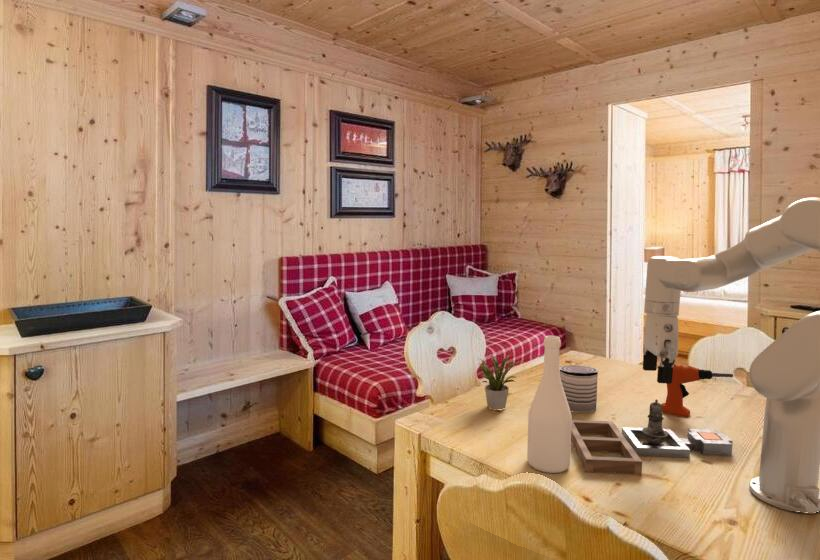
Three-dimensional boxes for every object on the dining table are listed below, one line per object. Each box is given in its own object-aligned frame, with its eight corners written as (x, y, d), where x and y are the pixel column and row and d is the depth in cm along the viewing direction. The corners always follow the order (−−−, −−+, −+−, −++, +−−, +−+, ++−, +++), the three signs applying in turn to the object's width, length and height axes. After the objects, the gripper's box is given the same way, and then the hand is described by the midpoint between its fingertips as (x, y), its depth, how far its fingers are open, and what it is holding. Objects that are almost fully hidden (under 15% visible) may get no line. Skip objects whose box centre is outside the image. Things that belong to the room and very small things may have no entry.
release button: (721, 450, 125) (721, 439, 125) (704, 449, 125) (705, 439, 125) (713, 443, 129) (714, 433, 128) (697, 442, 129) (698, 432, 129)
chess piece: (644, 438, 132) (647, 393, 131) (669, 444, 129) (672, 398, 127) (638, 446, 128) (640, 399, 126) (663, 453, 124) (666, 405, 123)
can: (556, 410, 152) (557, 371, 150) (558, 397, 162) (559, 360, 161) (597, 415, 148) (599, 374, 147) (596, 401, 159) (598, 363, 157)
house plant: (522, 399, 161) (523, 348, 159) (527, 416, 147) (529, 360, 145) (475, 398, 162) (476, 347, 160) (477, 414, 148) (478, 359, 146)
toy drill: (736, 421, 139) (731, 367, 138) (659, 415, 150) (655, 365, 149) (736, 416, 143) (732, 362, 142) (662, 410, 154) (657, 361, 153)
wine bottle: (562, 454, 124) (566, 332, 120) (576, 474, 114) (581, 341, 110) (522, 455, 123) (525, 332, 120) (533, 475, 114) (537, 342, 110)
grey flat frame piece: (739, 459, 121) (740, 447, 120) (637, 455, 123) (637, 443, 123) (715, 438, 132) (715, 426, 132) (621, 434, 135) (622, 423, 134)
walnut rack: (641, 474, 114) (642, 461, 114) (585, 471, 115) (586, 459, 115) (612, 432, 136) (612, 421, 136) (565, 430, 137) (566, 419, 137)
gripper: (693, 315, 115) (687, 389, 117) (663, 301, 132) (659, 366, 134) (658, 314, 116) (653, 387, 118) (633, 301, 133) (629, 365, 135)
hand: (656, 376), depth 126 cm, fingers open, 9 cm apart
